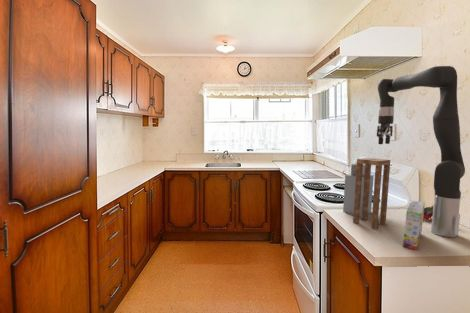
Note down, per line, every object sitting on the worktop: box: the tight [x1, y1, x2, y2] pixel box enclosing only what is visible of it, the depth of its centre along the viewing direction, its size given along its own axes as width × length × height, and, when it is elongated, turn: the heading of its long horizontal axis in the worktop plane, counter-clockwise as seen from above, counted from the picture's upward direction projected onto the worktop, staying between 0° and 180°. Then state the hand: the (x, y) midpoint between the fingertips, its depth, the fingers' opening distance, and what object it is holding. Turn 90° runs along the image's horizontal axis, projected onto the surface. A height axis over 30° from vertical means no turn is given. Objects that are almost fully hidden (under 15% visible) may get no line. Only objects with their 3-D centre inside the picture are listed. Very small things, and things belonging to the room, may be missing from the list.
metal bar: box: [350, 163, 365, 177], centre depth 156 cm, size 6×18×6 cm, turn 136°
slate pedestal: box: [342, 173, 375, 217], centre depth 154 cm, size 10×12×21 cm
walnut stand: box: [352, 157, 391, 230], centre depth 134 cm, size 11×10×32 cm
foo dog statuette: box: [423, 205, 433, 222], centre depth 141 cm, size 8×10×12 cm
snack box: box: [402, 200, 426, 251], centre depth 115 cm, size 21×6×15 cm, turn 143°
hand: (384, 144), depth 157 cm, fingers open, 8 cm apart
